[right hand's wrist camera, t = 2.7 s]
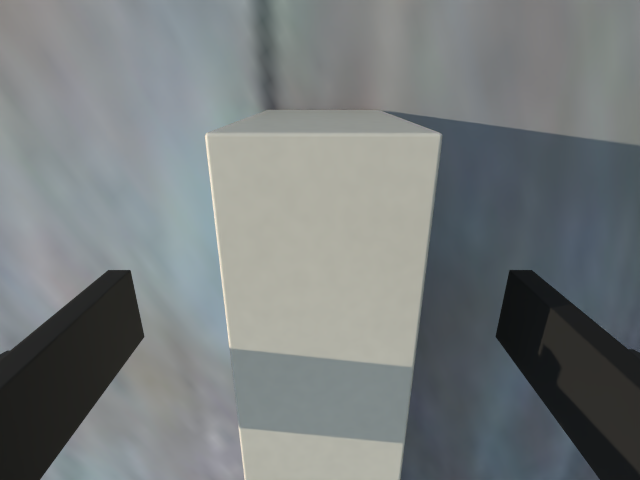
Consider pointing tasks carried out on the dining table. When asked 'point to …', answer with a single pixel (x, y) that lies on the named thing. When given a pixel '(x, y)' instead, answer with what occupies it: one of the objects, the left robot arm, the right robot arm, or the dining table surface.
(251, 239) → the post
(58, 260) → the dining table surface
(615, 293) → the dining table surface
